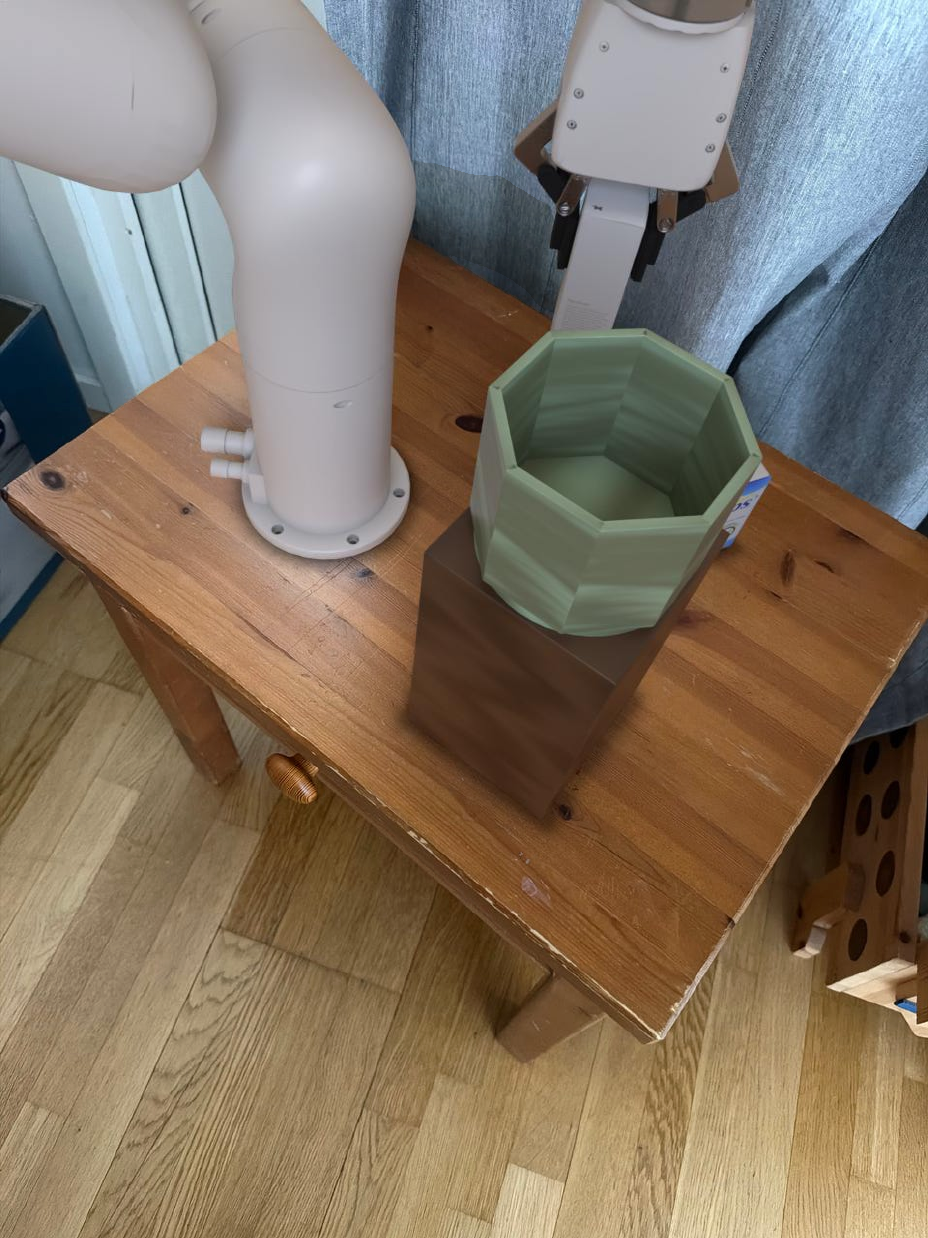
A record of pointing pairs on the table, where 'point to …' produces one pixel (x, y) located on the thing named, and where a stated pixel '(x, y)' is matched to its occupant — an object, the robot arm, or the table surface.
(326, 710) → the table surface
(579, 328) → the cosmetic box
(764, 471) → the medicine box
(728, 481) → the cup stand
